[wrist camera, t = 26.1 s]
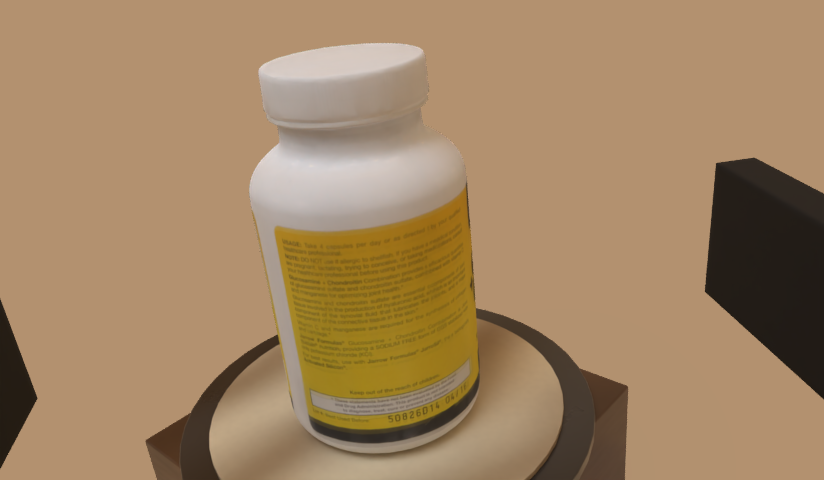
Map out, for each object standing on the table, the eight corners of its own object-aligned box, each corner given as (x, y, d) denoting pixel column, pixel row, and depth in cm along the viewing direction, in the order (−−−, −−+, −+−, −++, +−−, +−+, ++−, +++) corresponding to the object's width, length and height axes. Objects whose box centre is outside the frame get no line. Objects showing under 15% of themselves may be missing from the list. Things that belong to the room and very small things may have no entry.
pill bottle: (511, 433, 23) (494, 60, 18) (307, 487, 21) (229, 100, 17) (447, 331, 29) (421, 28, 24) (283, 369, 27) (220, 56, 22)
